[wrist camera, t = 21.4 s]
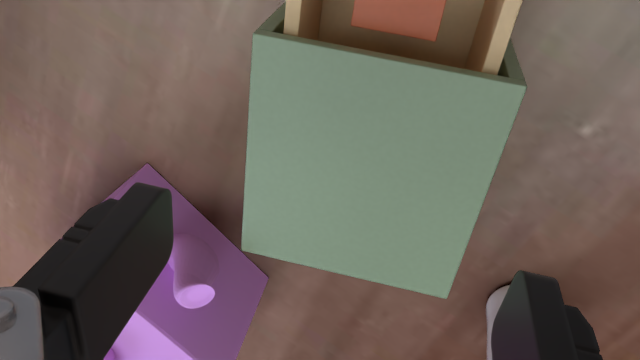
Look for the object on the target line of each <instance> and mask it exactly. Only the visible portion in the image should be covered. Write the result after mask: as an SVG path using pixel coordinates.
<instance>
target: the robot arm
mask: <svg viewBox="0 0 640 360" xmlns="http://www.w3.org/2000/svg"><path fill="white" fill-rule="evenodd" d="M173 241H174V234H173V211H172V194H171V191H170V190H169V189H166V188H162V187H158V186H153V185H149V184H144V183H140V182H137V183H135V184H133V185H132V186H131V188H130V189H129V190H128V191H127V192H126V193H125V194H124V195H123V196H122V197H121V198H120V199H119V200H116V199H112V198H109V199H107V200H105V201H104V202H102V203H100V204H98V205H96V206H94V207H92V208H90V209H89V210H88V211H87V212H86V213H85V214H84V215H83V216H82V217H81V218H80V219H79V220H78V221H77V222H76V223H75V225H74V227H71V228H70V229H69V230H68V231H67V232H66V233H65V234H64V235H63V238H62V239H59V240H58V241H57V242H56V243H55V244H54V245H53V246H52V247H51V248H50V249H49V250H48V251H47V252H46V253H45V254H44V255H43V257H42V258H41V259H40V260H39V261H38V262H37V263H36V264H35V265H34V266H33V267H32V268H31V269H30V270H29V271H28V272H27V273H26V274H25V275H24V276H23V277H22V278H21V279H20V280H19V281H18V282H17V283H16V284H15V285H14V286H13V287H0V360H103V359H104V357H105V356H106V354H107V353H108V351H109V350H110V348H111V347H112V345H113V344H114V342H115V341H116V339H117V338H118V336H119V335H120V333H121V332H122V330H123V329H124V327H125V326H126V324H127V323H128V321H129V320H130V318H131V317H132V315H133V314H134V312H135V311H136V309H137V308H138V306H139V305H140V303H141V302H142V300H143V299H144V297H145V296H146V294H147V293H148V291H149V290H150V288H151V287H152V285H153V284H154V282H155V281H156V279H157V278H158V276H159V275H160V273H161V272H162V270H163V269H164V267H165V266H166V264H167V262H168V260H169V258H170V255H171V252H172V248H173ZM491 350H492V360H603V359H602V356H601V355H599V352H600V350H599V346H598V343H597V340H596V337H595V334H594V330H593V328H592V327H591V326H590V324H589V323H588V322H587V320H586V319H585V318H584V316H583V315H582V314H581V312H580V311H579V310H578V308H576V307H572V306H568V305H564V302H563V299H562V295H561V291H560V287H559V284H558V281H557V280H556V279H555V278H552V277H548V276H543V275H539V274H535V273H530V272H526V271H521V270H520V271H518V272H517V273H516V274H515V276H514V278H513V280H512V282H511V285H510V287H509V289H508V291H507V293H506V295H505V297H504V299H503V302H502V304H501V306H500V308H499V310H498V312H497V314H496V317H495V319H494V323H493V327H492V333H491Z"/></svg>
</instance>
